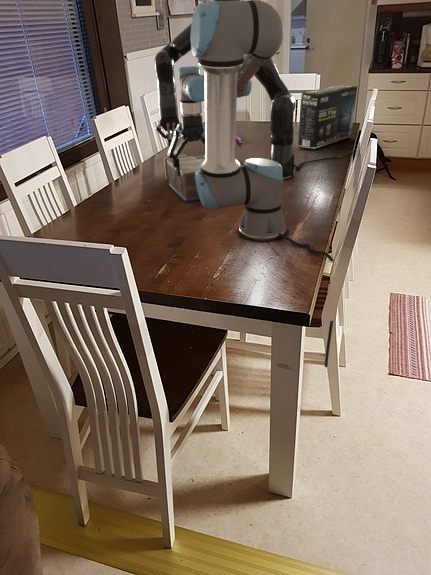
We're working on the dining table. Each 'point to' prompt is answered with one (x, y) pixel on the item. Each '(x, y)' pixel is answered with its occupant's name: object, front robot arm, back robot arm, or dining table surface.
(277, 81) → the back robot arm
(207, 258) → the dining table surface
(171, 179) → the small box
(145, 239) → the dining table surface
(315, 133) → the router box
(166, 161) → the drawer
